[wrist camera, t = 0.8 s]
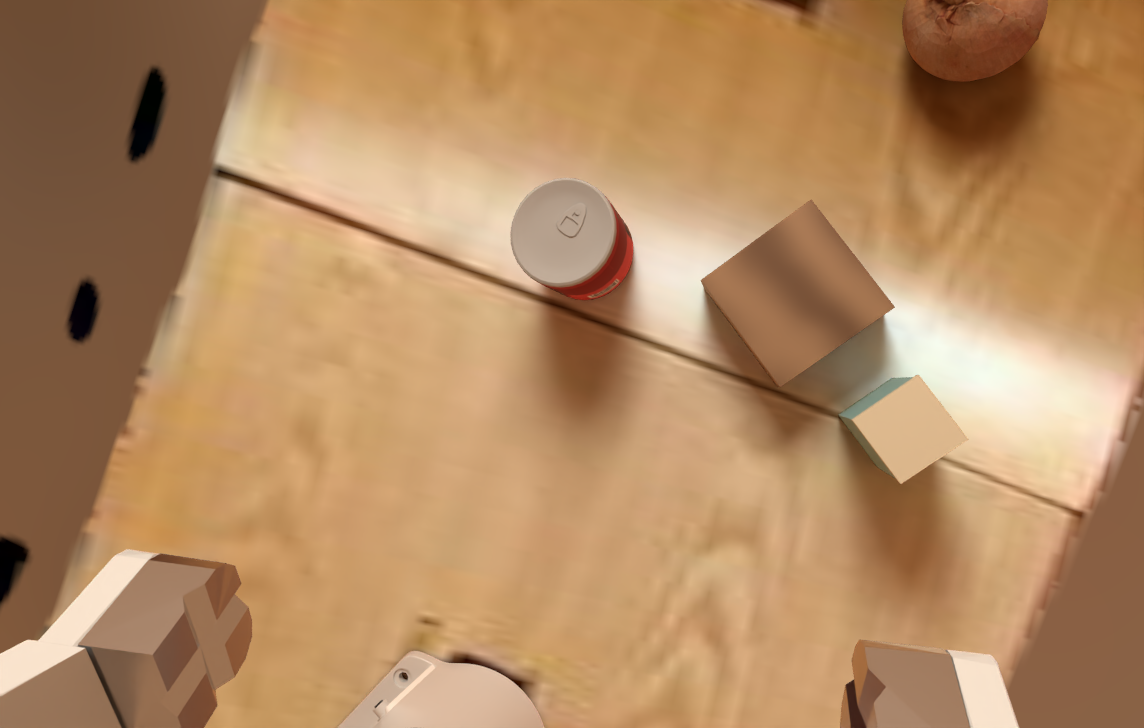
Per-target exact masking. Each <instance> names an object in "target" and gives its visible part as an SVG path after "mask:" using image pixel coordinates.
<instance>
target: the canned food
mask: <svg viewBox="0 0 1144 728" xmlns="http://www.w3.org/2000/svg"><path fill="white" fill-rule="evenodd" d="M511 246H512V250H513V254H514V256H515V258H516V260H517V263H518V264H519V265H520V267H521V268H522V269H523V271H524V272H525V273H526V274H527V275H528V276H530V277H531V278H532V279H533V280H535V281H537V282H539V283H540V284H542V285H544V286H546V287H548V288H550V289H552V290H555V291H557V292H559V293H561V294H563V295H565V296H567V297H571V298H574V299H579V300H589V299H595V298H599V297H602V296H604V295H606V294H608V293H609V292H611V291H612V290H613V289H615V288H616V287H617V286H618V285H619V284H620V283H621V282H622V281H623V279H624V278H625V276H626V274H627V273H628V271H629V268H630V266H631V263H632V258H633V241H632V237H631V233H630V231H629V229H628V227H627V225H626V224H625V222H624V221H623V220H622V218H621V217H620V215H619V214H618V213H617V211H616V210H615V208H614V207H613V205H612V204H611V203H610V201H609V200H608V199H607V198H606V196H605V195H604V194H603V193H602V192H601V191H600V190H598V189H597V188H596V187H595V186H593V185H591V184H589V183H587V182H585V181H582V180H579V179H575V178H560V179H554V180H551V181H548V182H545V183H543V184H542V185H540V186H538V187H536V188H535V189H534V190H533V191H531V192H530V193H529V194H528V195H527V196H526V197H525V199H524V200H523V201H522V202H521V204H520V205H519V207H518V209H517V211H516V213H515V216H514V219H513V221H512V227H511Z"/></svg>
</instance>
